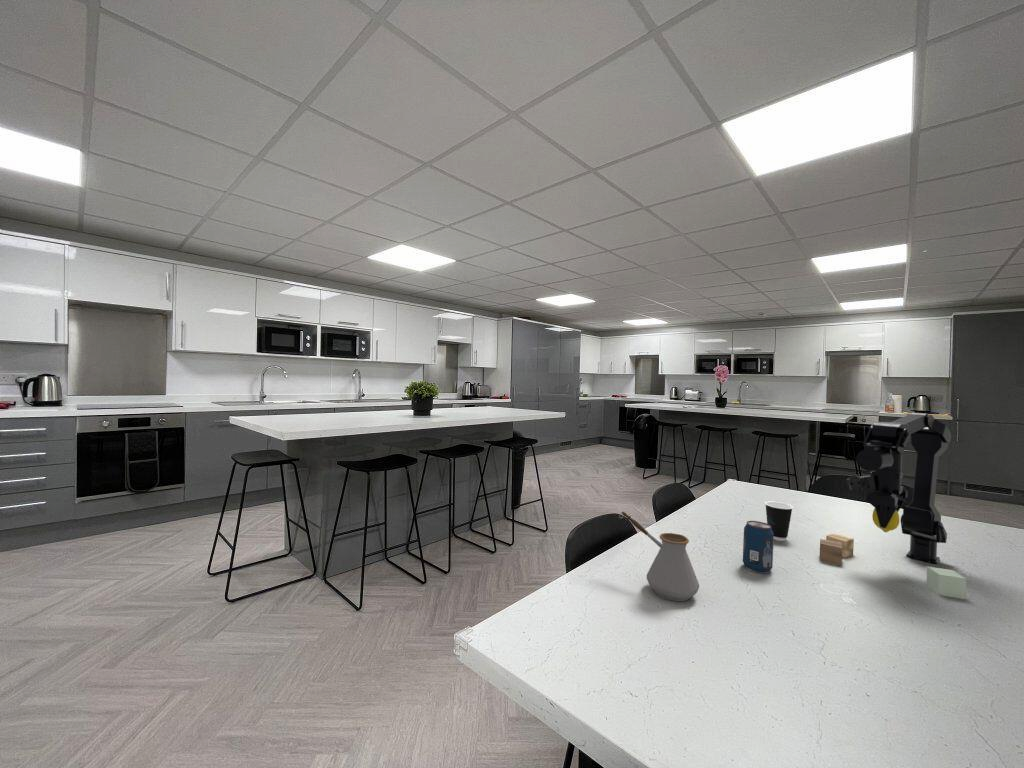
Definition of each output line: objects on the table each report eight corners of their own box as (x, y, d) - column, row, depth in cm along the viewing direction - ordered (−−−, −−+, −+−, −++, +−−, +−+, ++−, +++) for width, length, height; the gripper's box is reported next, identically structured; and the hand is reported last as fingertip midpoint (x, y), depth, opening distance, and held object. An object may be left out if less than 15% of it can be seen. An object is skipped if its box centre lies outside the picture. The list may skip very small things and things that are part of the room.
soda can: (747, 560, 117) (748, 518, 117) (775, 569, 112) (777, 524, 113) (738, 567, 113) (740, 523, 113) (768, 577, 108) (769, 530, 108)
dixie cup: (794, 538, 137) (795, 505, 137) (788, 544, 132) (789, 509, 132) (767, 532, 143) (768, 500, 143) (760, 537, 137) (761, 503, 137)
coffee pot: (708, 596, 96) (711, 531, 96) (680, 611, 89) (683, 541, 89) (632, 562, 113) (634, 507, 113) (603, 572, 106) (606, 514, 106)
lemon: (904, 536, 111) (905, 506, 111) (880, 534, 112) (881, 504, 112) (890, 530, 116) (891, 501, 116) (867, 527, 118) (868, 499, 118)
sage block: (926, 585, 106) (927, 566, 106) (952, 590, 104) (952, 570, 104) (937, 594, 102) (938, 574, 102) (965, 599, 100) (965, 578, 100)
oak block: (833, 549, 129) (834, 533, 129) (853, 555, 125) (853, 538, 125) (825, 551, 127) (826, 535, 127) (845, 558, 123) (845, 541, 123)
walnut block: (819, 555, 124) (820, 538, 124) (840, 560, 121) (841, 543, 121) (819, 560, 120) (820, 543, 120) (841, 565, 117) (842, 548, 117)
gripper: (858, 460, 126) (857, 512, 126) (841, 466, 115) (839, 523, 115) (909, 467, 118) (907, 522, 118) (895, 474, 106) (893, 535, 106)
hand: (885, 525), depth 114 cm, fingers closed on lemon, 5 cm apart
